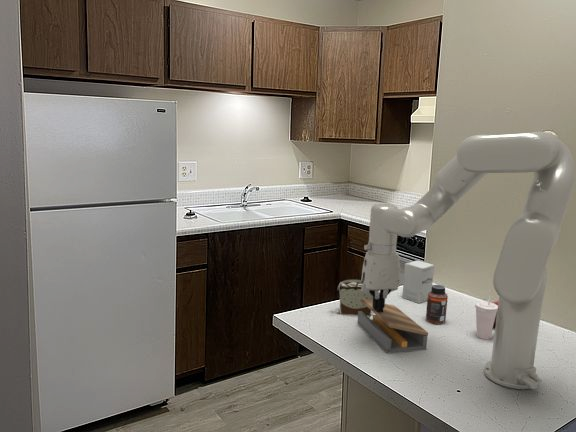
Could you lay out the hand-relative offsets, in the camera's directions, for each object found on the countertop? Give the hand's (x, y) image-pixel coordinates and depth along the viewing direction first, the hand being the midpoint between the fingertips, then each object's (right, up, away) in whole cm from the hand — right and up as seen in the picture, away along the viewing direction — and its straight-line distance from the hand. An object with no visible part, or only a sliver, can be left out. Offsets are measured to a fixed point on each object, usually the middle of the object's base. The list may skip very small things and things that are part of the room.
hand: (378, 310), depth 146 cm
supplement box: (+19, -2, +33) cm, 39 cm away
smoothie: (+32, -9, +4) cm, 33 cm away
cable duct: (+4, -8, +3) cm, 9 cm away
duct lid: (+4, -2, +2) cm, 5 cm away
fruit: (+40, -7, +12) cm, 42 cm away
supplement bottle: (+20, -6, +14) cm, 26 cm away
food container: (-4, -4, +20) cm, 21 cm away
